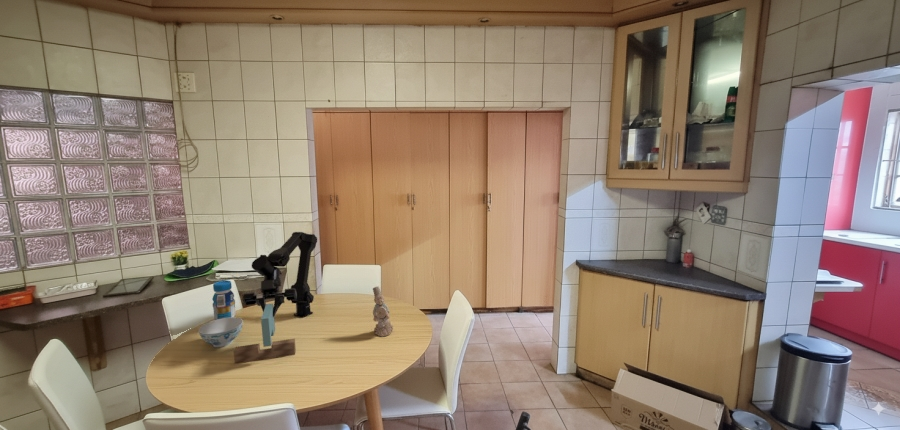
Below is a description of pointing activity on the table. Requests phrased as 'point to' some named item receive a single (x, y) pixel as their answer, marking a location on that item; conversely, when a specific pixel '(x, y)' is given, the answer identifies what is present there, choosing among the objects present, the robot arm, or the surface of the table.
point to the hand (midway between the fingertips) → (269, 317)
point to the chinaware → (221, 331)
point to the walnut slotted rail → (264, 351)
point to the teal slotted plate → (267, 325)
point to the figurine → (381, 314)
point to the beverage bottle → (223, 300)
